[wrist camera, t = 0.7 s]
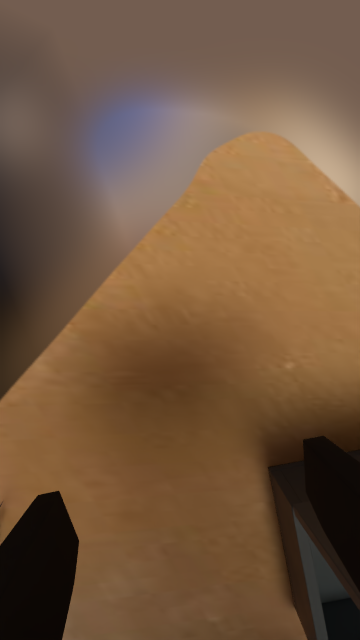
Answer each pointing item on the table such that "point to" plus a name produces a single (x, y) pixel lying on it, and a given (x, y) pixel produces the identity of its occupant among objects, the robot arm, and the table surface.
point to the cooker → (311, 564)
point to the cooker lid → (325, 547)
